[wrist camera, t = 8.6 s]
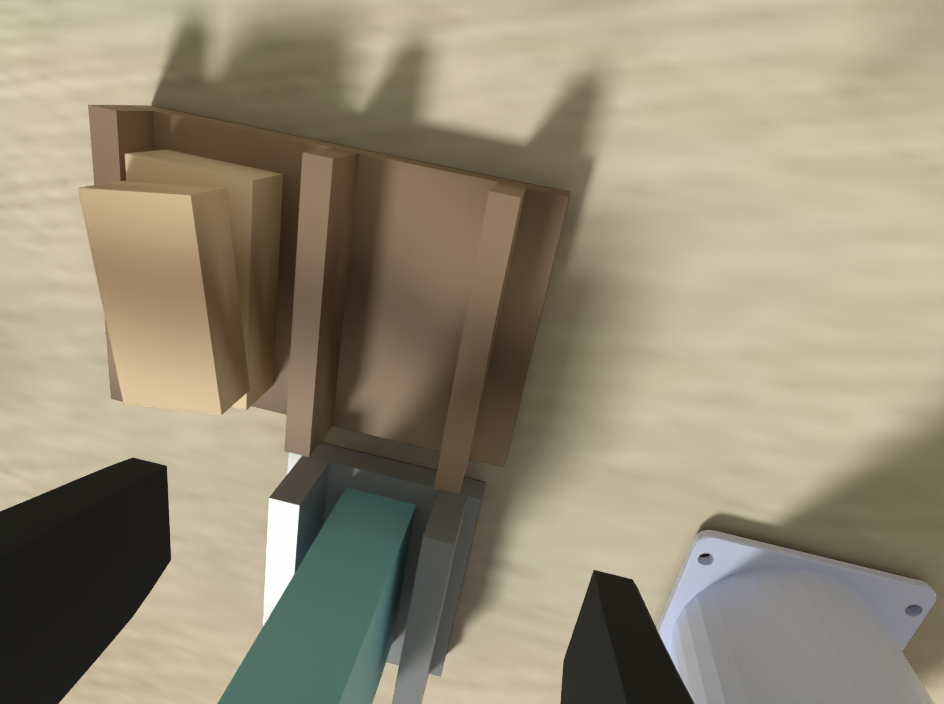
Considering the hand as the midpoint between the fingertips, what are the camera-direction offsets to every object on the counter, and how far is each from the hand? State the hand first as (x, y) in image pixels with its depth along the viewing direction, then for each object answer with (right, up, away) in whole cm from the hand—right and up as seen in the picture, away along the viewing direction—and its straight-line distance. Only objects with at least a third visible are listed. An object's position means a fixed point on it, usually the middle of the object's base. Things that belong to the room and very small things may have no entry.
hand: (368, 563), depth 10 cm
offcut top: (-6, +5, +7) cm, 11 cm away
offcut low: (-6, +6, +9) cm, 12 cm away
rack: (-3, +5, +10) cm, 11 cm away
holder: (-2, -5, +14) cm, 14 cm away
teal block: (-2, -5, +13) cm, 14 cm away
